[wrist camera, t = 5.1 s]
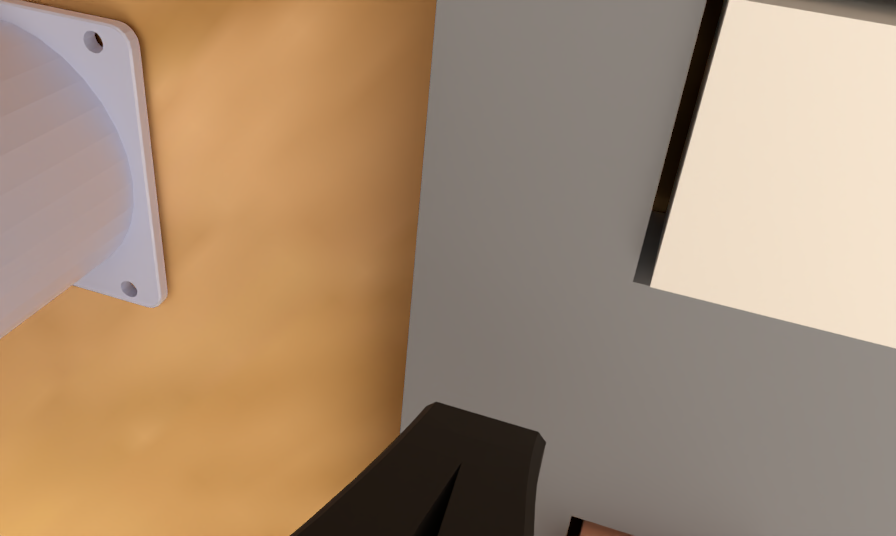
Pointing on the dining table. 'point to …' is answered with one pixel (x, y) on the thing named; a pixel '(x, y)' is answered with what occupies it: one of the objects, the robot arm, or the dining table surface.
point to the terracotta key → (599, 530)
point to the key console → (618, 295)
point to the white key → (792, 169)
